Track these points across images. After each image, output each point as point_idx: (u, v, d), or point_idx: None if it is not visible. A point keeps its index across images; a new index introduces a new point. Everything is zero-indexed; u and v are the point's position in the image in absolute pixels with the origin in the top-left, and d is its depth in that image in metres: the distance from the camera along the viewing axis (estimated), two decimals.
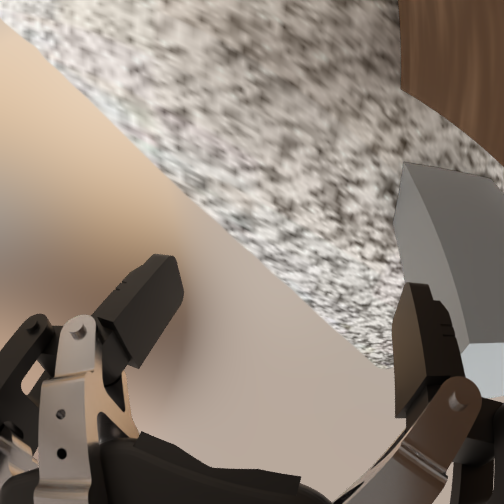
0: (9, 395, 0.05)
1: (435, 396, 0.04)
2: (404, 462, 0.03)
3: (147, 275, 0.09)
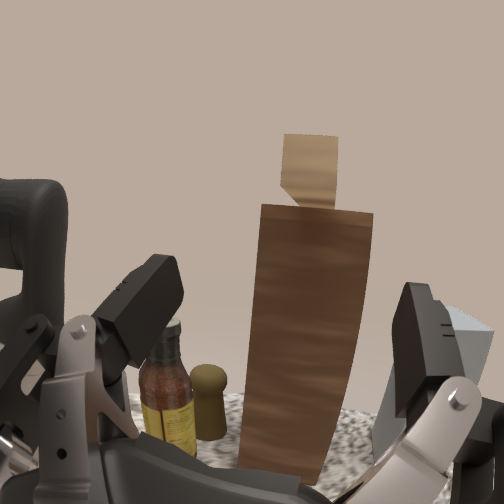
0: (9, 395, 0.05)
1: (435, 396, 0.04)
2: (404, 462, 0.03)
3: (147, 275, 0.09)
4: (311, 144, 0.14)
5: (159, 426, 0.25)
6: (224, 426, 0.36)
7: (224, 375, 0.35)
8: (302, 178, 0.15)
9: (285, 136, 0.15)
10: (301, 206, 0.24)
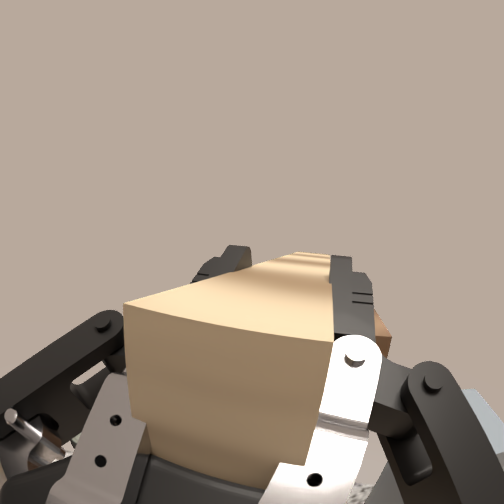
0: (53, 392, 0.05)
1: None
2: None
3: (231, 266, 0.09)
4: (217, 364, 0.04)
5: None
6: None
7: None
8: (190, 456, 0.04)
9: (127, 314, 0.04)
10: None
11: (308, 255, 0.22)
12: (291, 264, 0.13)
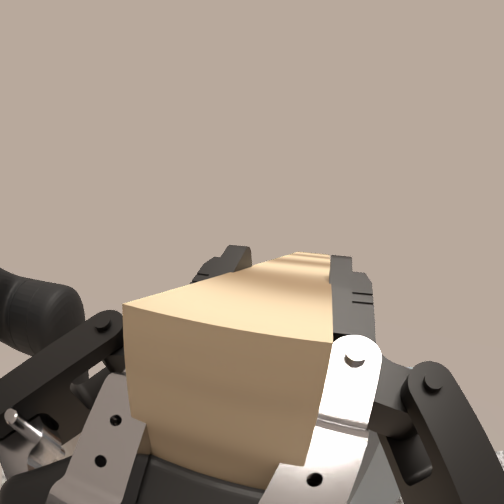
0: (53, 391, 0.05)
1: None
2: None
3: (231, 266, 0.09)
4: (216, 365, 0.04)
5: None
6: None
7: None
8: (190, 456, 0.04)
9: (126, 315, 0.04)
10: None
11: (308, 255, 0.22)
12: (291, 264, 0.13)
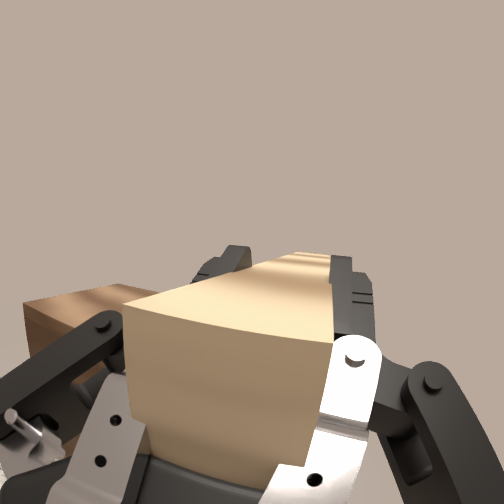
0: (53, 391, 0.05)
1: None
2: None
3: (231, 266, 0.09)
4: (216, 365, 0.04)
5: None
6: None
7: None
8: (190, 456, 0.04)
9: (126, 315, 0.04)
10: None
11: (308, 255, 0.22)
12: (291, 264, 0.13)
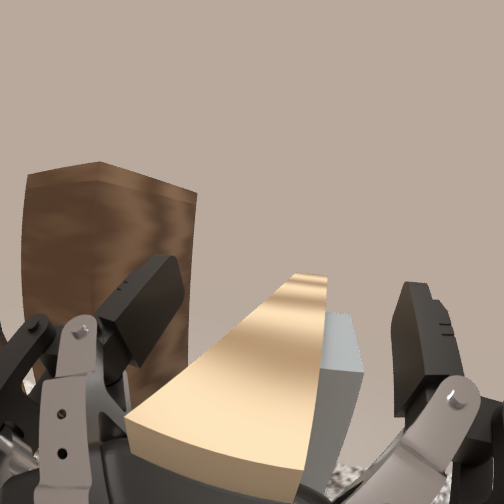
0: (10, 395, 0.05)
1: (434, 395, 0.04)
2: (403, 461, 0.03)
3: (148, 275, 0.09)
4: (208, 471, 0.03)
5: None
6: None
7: None
8: None
9: (128, 425, 0.04)
10: None
11: (305, 281, 0.22)
12: (286, 308, 0.13)
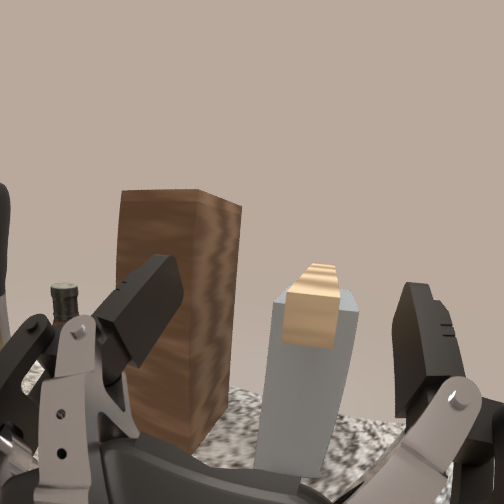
0: (9, 395, 0.05)
1: (435, 396, 0.04)
2: (404, 462, 0.03)
3: (147, 275, 0.09)
4: (313, 304, 0.15)
5: None
6: None
7: None
8: (301, 337, 0.15)
9: (287, 294, 0.16)
10: None
11: (321, 266, 0.33)
12: (316, 275, 0.25)
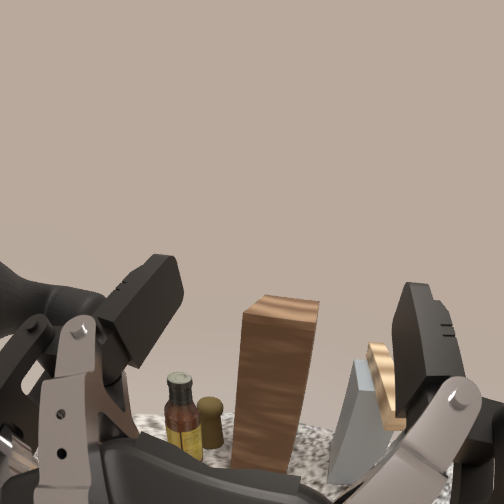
0: (9, 395, 0.05)
1: (435, 396, 0.04)
2: (404, 462, 0.03)
3: (147, 275, 0.09)
4: None
5: (179, 441, 0.38)
6: (221, 439, 0.48)
7: (221, 405, 0.49)
8: (394, 427, 0.25)
9: (391, 411, 0.25)
10: (376, 392, 0.35)
11: (379, 352, 0.43)
12: (388, 375, 0.34)
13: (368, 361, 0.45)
